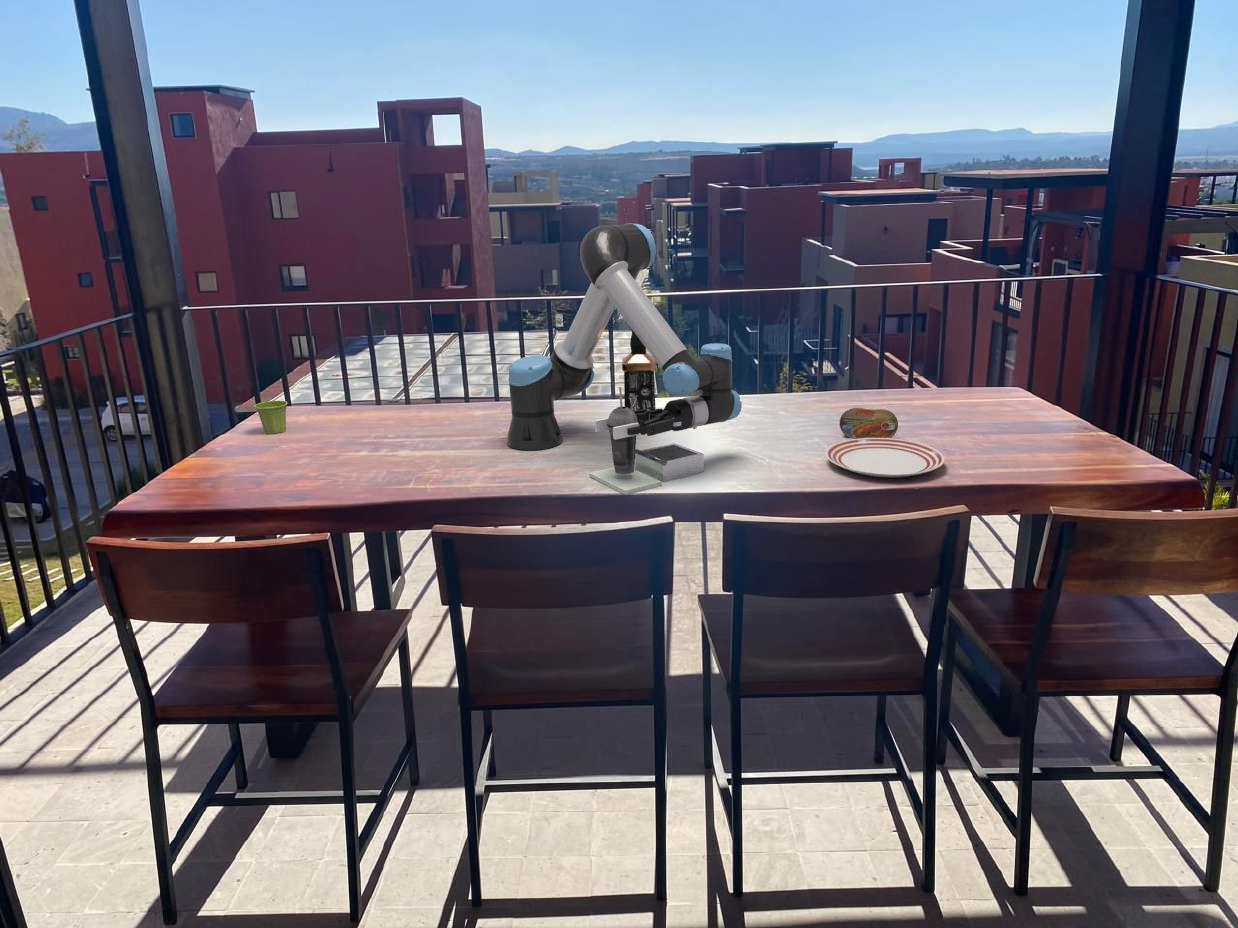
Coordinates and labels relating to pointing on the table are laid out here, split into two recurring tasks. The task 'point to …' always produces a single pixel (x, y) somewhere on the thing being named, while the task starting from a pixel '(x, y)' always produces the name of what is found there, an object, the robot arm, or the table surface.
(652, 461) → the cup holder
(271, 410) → the plant pot
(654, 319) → the robot arm
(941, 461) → the dinner plate
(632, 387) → the whiskey bottle
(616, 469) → the beverage cup
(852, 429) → the tin
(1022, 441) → the table surface
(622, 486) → the sage mat
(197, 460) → the table surface
